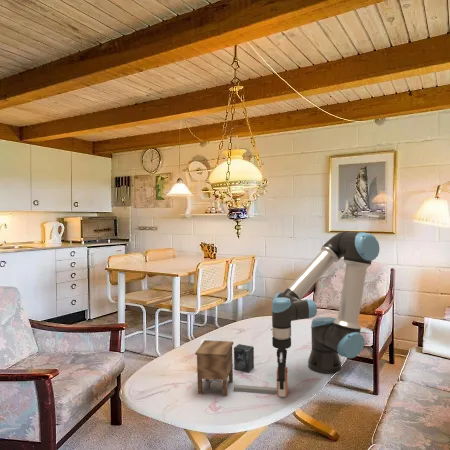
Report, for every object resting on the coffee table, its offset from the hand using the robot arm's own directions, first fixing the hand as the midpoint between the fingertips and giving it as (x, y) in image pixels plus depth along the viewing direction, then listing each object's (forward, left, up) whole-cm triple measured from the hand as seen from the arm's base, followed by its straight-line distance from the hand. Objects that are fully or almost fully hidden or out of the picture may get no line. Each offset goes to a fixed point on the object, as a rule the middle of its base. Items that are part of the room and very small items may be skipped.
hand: (282, 392), depth 159 cm
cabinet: (+28, -1, 0) cm, 28 cm away
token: (+27, 0, -1) cm, 27 cm away
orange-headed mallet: (+9, 0, 0) cm, 9 cm away
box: (+19, -21, -1) cm, 28 cm away
